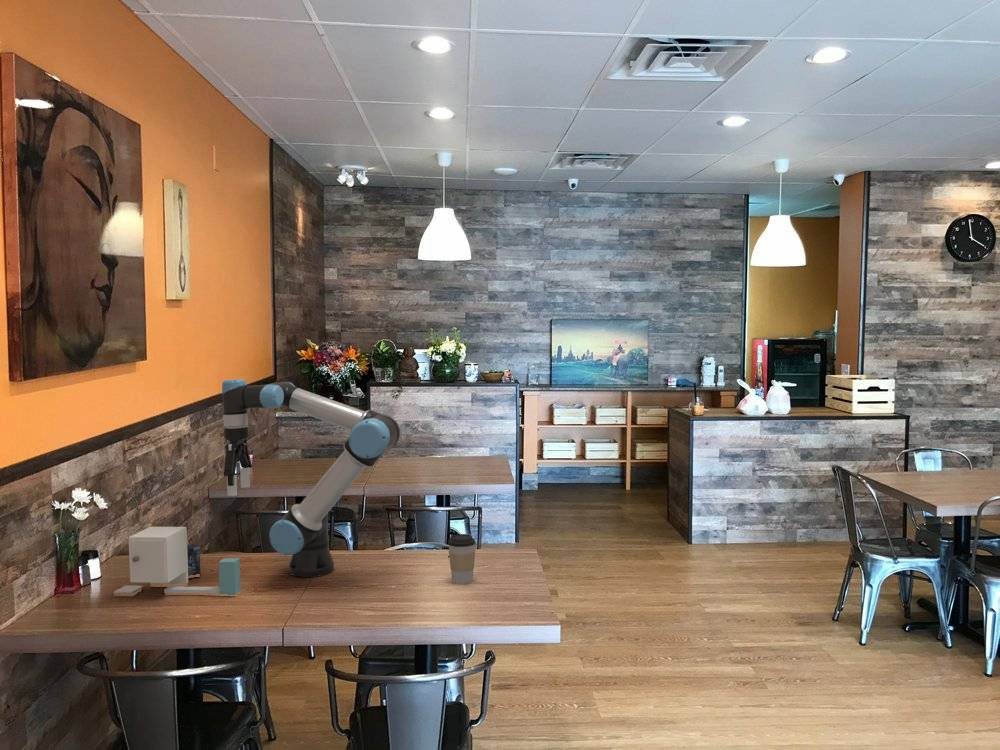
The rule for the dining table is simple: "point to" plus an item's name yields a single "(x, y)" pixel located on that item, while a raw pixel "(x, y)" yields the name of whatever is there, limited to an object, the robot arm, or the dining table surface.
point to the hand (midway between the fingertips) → (239, 491)
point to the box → (193, 559)
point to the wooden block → (128, 589)
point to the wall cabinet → (159, 555)
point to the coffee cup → (462, 558)
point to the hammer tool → (227, 580)
